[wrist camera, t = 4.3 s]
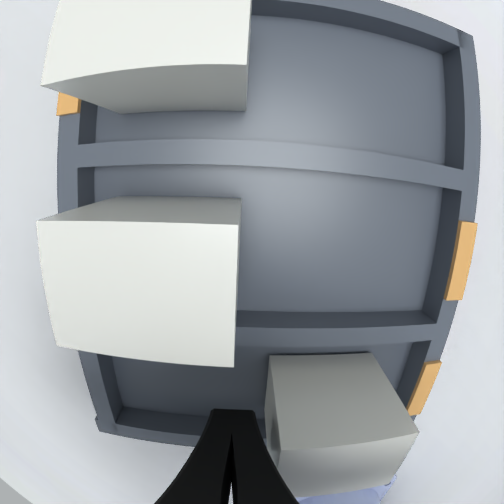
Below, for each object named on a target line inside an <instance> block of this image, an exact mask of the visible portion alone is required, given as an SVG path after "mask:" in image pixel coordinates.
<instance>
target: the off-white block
mask: <svg viewBox="0 0 504 504" xmlns="http://www.w3.org/2000/svg"><path fill="white" fill-rule="evenodd" d="M241 203H242V199H241V198H214V197H168V196H118V197H114V198H110V199H107V200H103V201H99V202H96V203H92V204H89V205H85V206H82V207H79V208H75V209H72V210H69V211H65V212H62V213H59V214H56V215H53V216H50V217H46V218H43V219H40V220H37V221H36V227H37V238H38V248H39V256H40V264H41V271H42V277H43V284H44V290H45V295H46V301H47V306H48V311H49V315H50V320H51V324H52V329H53V333H54V337H55V341H56V345H57V346H60V347H65V348H70V349H75V350H81V351H86V352H92V353H98V354H104V355H110V356H117V357H124V358H131V359H139V360H147V361H156V362H166V363H176V364H188V365H201V366H217V367H234V353H235V334H236V315H237V297H238V277H239V251H240V227H241Z"/></svg>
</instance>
